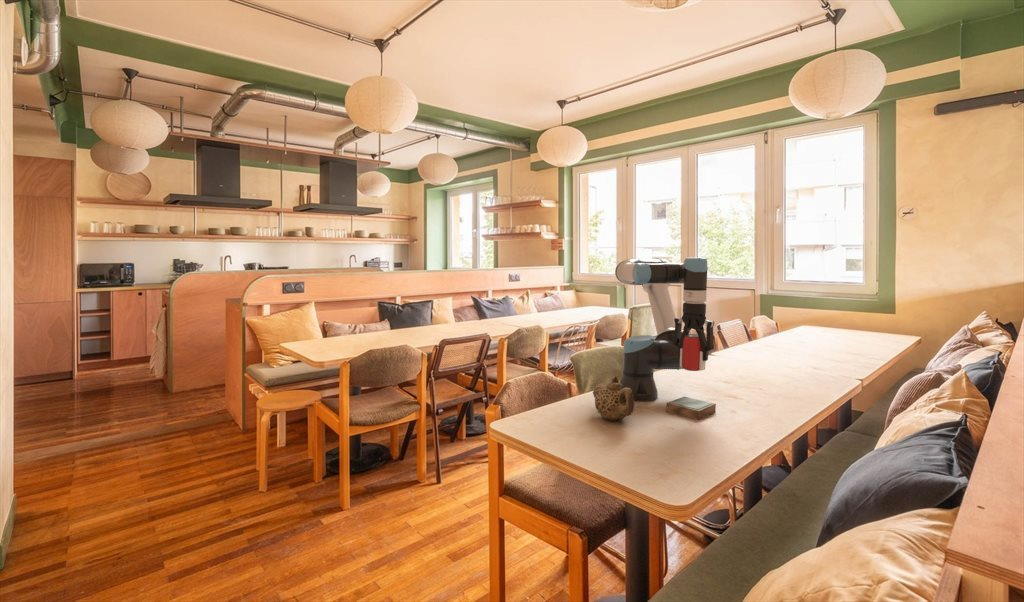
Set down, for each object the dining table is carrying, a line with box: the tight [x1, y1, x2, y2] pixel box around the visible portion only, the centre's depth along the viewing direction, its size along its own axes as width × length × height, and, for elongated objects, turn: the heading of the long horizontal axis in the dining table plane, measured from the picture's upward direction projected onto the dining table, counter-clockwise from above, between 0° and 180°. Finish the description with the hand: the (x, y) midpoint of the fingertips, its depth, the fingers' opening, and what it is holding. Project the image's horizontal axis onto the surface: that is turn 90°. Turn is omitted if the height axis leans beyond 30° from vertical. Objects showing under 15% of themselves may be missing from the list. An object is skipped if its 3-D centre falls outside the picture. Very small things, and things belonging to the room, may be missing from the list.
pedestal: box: [666, 396, 717, 421], centre depth 173 cm, size 12×12×3 cm
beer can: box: [682, 333, 702, 372], centre depth 171 cm, size 7×7×12 cm
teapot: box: [592, 375, 635, 422], centre depth 164 cm, size 21×12×15 cm, turn 23°
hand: (692, 367), depth 172 cm, fingers closed on beer can, 7 cm apart
